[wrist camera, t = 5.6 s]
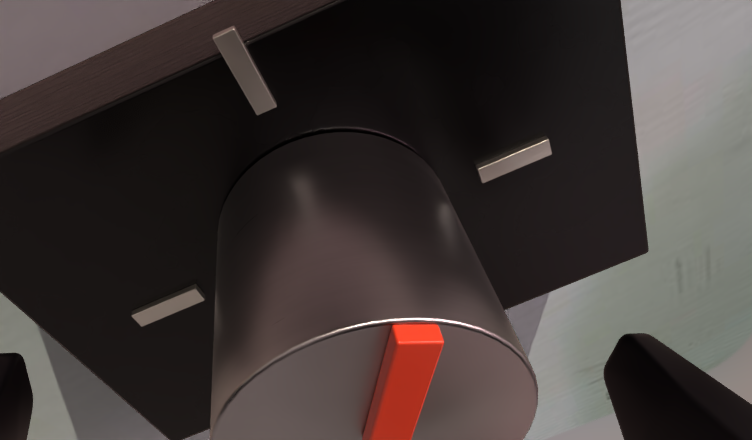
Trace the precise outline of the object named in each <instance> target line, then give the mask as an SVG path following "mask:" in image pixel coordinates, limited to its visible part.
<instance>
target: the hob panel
mask: <svg viewBox="0 0 752 440" xmlns="http://www.w3.org/2000/svg"><path fill="white" fill-rule="evenodd" d="M334 132H356V133H363V134H371V135H374V136H378V137H382V138H386V139H388V140H391V141H393V142H396V143H398V144H401V145H402V146H404V147H406V148H407V149H409V150H411V151H413V152H414V153H415V154H417V155H418V156H419V157H420V158H422V159H423V160H424V161H425V162H426V163H427V164H428V165H429V166H430V167H431V168H432V170H433V171H434V172H435V174H436V175H437V177H438V178H439V180H440V182H441V184H442V186H443V188H444V190H445V192H446V194H447V196H448V198H449V200H450V202H451V204H452V206H453V208H454V210H455V212H456V214H457V216H458V218H459V220H460V222H461V224H462V226H463V228H464V230H465V232H466V234H467V236H468V238H469V240H470V242H471V244H472V246H473V248H474V250H475V253H476V255H477V257H478V259H479V261H480V263H481V265H482V267H483V269H484V271H485V273H486V275H487V277H488V279H489V281H490V283H491V285H492V287H493V289H494V291H495V293H496V295H497V297H498V299H499V301H500V303H501V305H502V307H503V309H504V310H506V309H508V308H511V307H513V306H516V305H518V304H521V303H523V302H526V301H528V300H531V299H533V298H536V297H538V296H541V295H543V294H546V293H548V292H551V291H553V290H556V289H558V288H561V287H563V286H566V285H568V284H571V283H573V282H576V281H578V280H581V279H583V278H586V277H588V276H591V275H593V274H596V273H598V272H600V271H603V270H605V269H608V268H610V267H613V266H615V265H618V264H620V263H623V262H625V261H628V260H630V259H633V258H635V257H638V256H640V255H643V254H645V253H647V252H648V251H649V250H648V241H647V232H646V223H645V214H644V205H643V196H642V188H641V179H640V170H639V161H638V152H637V143H636V134H635V125H634V116H633V108H632V99H631V90H630V81H629V72H628V63H627V54H626V45H625V36H624V28H623V19H622V10H621V1H620V0H214V1H212V2H210V3H208V4H205V5H203V6H201V7H199V8H197V9H195V10H192V11H190V12H188V13H186V14H184V15H182V16H180V17H177V18H175V19H173V20H171V21H169V22H167V23H164V24H162V25H160V26H158V27H156V28H154V29H151V30H149V31H147V32H145V33H143V34H141V35H138V36H136V37H134V38H132V39H130V40H128V41H125V42H123V43H121V44H119V45H117V46H115V47H112V48H110V49H108V50H106V51H104V52H102V53H100V54H97V55H95V56H93V57H91V58H89V59H87V60H84V61H82V62H80V63H78V64H76V65H74V66H71V67H69V68H67V69H65V70H63V71H61V72H58V73H56V74H54V75H52V76H50V77H48V78H45V79H43V80H41V81H39V82H37V83H35V84H32V85H30V86H28V87H26V88H24V89H22V90H20V91H17V92H15V93H13V94H11V95H9V96H7V97H4V98H2V99H0V292H1V293H2V294H3V295H4V296H5V297H7V298H8V299H9V300H10V301H11V302H12V303H14V304H15V305H16V306H17V307H18V308H19V309H20V310H22V311H23V312H24V313H25V314H26V315H27V316H28V317H30V318H31V319H32V320H33V321H34V322H35V323H36V324H38V325H39V326H40V327H41V328H42V329H43V330H44V331H46V332H47V333H48V334H49V335H50V336H51V337H52V338H54V339H55V340H56V341H57V342H58V343H59V344H60V345H62V346H63V347H64V348H65V349H66V350H67V351H68V352H70V353H71V354H72V355H73V356H74V357H75V358H76V359H78V360H79V361H80V362H81V363H82V364H83V365H84V366H86V367H87V368H88V369H89V370H90V371H91V372H92V373H94V374H95V375H96V376H97V377H98V378H99V379H100V380H102V381H103V382H104V383H105V384H106V385H107V386H108V387H110V388H111V389H112V390H113V391H114V392H115V393H116V394H118V395H119V396H120V397H121V398H122V399H123V400H124V401H126V402H127V403H128V404H129V405H130V406H131V407H132V408H134V409H135V410H136V411H137V412H138V413H139V414H140V415H142V416H143V417H144V418H145V419H146V420H147V421H148V422H150V423H151V424H152V425H153V426H154V427H155V428H156V429H158V430H159V431H160V432H161V433H162V434H163V435H164V436H166V437H167V438H168V439H169V440H183V439H185V438H188V437H190V436H193V435H195V434H198V433H200V432H203V431H205V430H208V429H210V418H211V393H212V367H213V342H214V316H215V291H216V265H217V240H218V226H219V219H220V215H221V212H222V208H223V205H224V203H225V201H226V199H227V197H228V195H229V193H230V192H231V190H232V189H233V187H234V186H235V184H236V183H237V181H238V180H239V179H240V178H241V177H242V176H243V175H244V174H245V172H246V171H247V170H248V169H249V168H251V167H252V166H253V165H254V164H255V163H256V162H258V161H259V160H260V159H262V158H263V157H265V156H266V155H268V154H269V153H271V152H272V151H274V150H276V149H278V148H280V147H282V146H284V145H286V144H288V143H291V142H294V141H296V140H299V139H302V138H305V137H310V136H314V135H319V134H325V133H334Z"/></svg>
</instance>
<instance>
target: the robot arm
mask: <svg viewBox="0 0 752 440" xmlns="http://www.w3.org/2000/svg"><path fill="white" fill-rule="evenodd" d="M604 380H605V384H606V387H607V390H608V393H609V396H610V399H611V402H612V405H613V408H614V411H615V414H616V417H617V419H618V422H619V425H620V429H621V432H622V435H623V437H624V440H752V404H750V403H749V402H747V401H746V400H744V399H743V398H741V397H740V396H738V395H737V394H735V393H734V392H733V391H731V390H730V389H728V388H727V387H725V386H724V385H722V384H721V383H720V382H718V381H717V380H715V379H714V378H712V377H711V376H709V375H708V374H706V373H705V372H704V371H702V370H701V369H699V368H698V367H696V366H695V365H693V364H692V363H690V362H689V361H688V360H686V359H685V358H683V357H682V356H680V355H679V354H677V353H676V352H674V351H673V350H672V349H670V348H669V347H667V346H666V345H664V344H663V343H661V342H660V341H658V340H657V339H655V338H654V337H652V336H651V335H649V334H644V333H638V334H625V335H623V336H622V337H621V338H620V339H619V341H618V343H617V344H616V346H615V348H614V350H613V352H612V354H611V355H610V357H609V359H608V361H607V363H606V365H605V367H604ZM32 408H33V393H32V389H31V385H30V381H29V377H28V373H27V369H26V365H25V362H24V359H23V357H22V356H21V355H20V354H18V353H0V440H27V435H28V429H29V424H30V419H31V414H32Z"/></svg>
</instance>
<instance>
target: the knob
mask: <svg viewBox="0 0 752 440" xmlns="http://www.w3.org/2000/svg"><path fill="white" fill-rule="evenodd" d="M537 404H538V386H537V380H536V375H535V373H534V371H533V369H532V366H531V364H530V362H529V360H528V358H527V356H526V354H525V352H524V350H523V348H522V346H521V344H520V342H519V340H518V338H517V336H516V334H515V332H514V330H513V327H512V325H511V323H510V321H509V319H508V317H507V315H506V313H505V311H504V309H503V307H502V305H501V303H500V301H499V299H498V297H497V295H496V293H495V291H494V289H493V287H492V285H491V283H490V281H489V279H488V277H487V275H486V273H485V271H484V269H483V267H482V265H481V263H480V261H479V259H478V257H477V255H476V253H475V250H474V248H473V246H472V244H471V242H470V240H469V238H468V236H467V234H466V232H465V230H464V228H463V226H462V224H461V222H460V220H459V218H458V216H457V214H456V212H455V210H454V208H453V206H452V204H451V202H450V200H449V198H448V196H447V194H446V192H445V190H444V188H443V186H442V184H441V182H440V180H439V178H438V177H437V175H436V174H435V172H434V171H433V170H432V168H431V167H430V166H429V165H428V164H427V163H426V162H425V161H424V160H423V159H422V158H420V157H419V156H418V155H417V154H415V153H414V152H413V151H411V150H409V149H407V148H406V147H404V146H402V145H401V144H398V143H396V142H393V141H391V140H388V139H386V138H382V137H378V136H374V135H371V134H363V133H356V132H334V133H325V134H319V135H314V136H310V137H305V138H302V139H299V140H296V141H294V142H291V143H288V144H286V145H284V146H282V147H280V148H278V149H276V150H274V151H272V152H271V153H269V154H268V155H266V156H265V157H263V158H262V159H260V160H259V161H258V162H256V163H255V164H254V165H253V166H252V167H251V168H249V169H248V170H247V171H246V172H245V174H244V175H243V176H242V177H241V178H240V179H239V180H238V181H237V183H236V184H235V186H234V187H233V189H232V190H231V192H230V193H229V195H228V197H227V199H226V201H225V203H224V205H223V208H222V212H221V215H220V219H219V226H218V240H217V265H216V291H215V316H214V342H213V367H212V393H211V418H210V440H523V439H524V437H525V436H526V434H527V432H528V431H529V429H530V427H531V424H532V422H533V419H534V417H535V413H536V409H537Z"/></svg>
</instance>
